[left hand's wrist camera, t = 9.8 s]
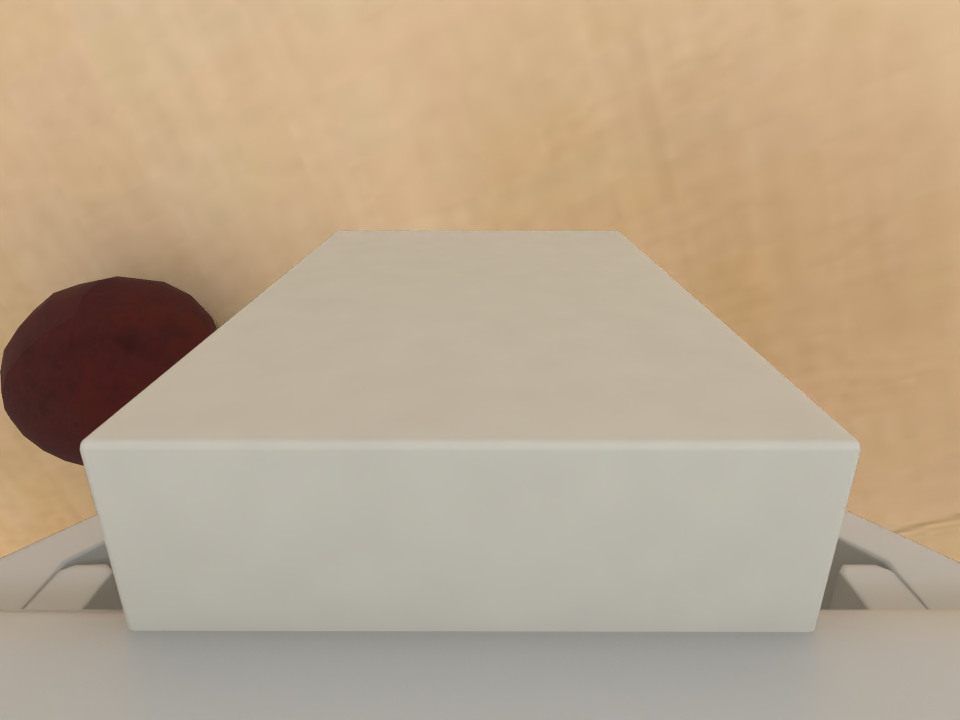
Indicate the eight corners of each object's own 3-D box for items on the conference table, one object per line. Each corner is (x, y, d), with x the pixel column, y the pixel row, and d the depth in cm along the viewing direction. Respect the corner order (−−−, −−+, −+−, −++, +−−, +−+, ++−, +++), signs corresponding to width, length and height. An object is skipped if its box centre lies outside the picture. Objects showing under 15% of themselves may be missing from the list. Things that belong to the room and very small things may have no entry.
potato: (46, 347, 28) (-87, 422, 21) (141, 218, 26) (26, 257, 19) (187, 446, 30) (106, 543, 23) (286, 334, 27) (227, 406, 21)
